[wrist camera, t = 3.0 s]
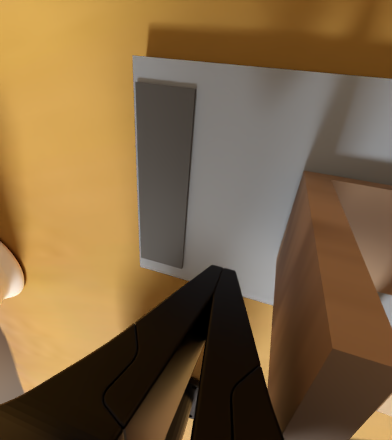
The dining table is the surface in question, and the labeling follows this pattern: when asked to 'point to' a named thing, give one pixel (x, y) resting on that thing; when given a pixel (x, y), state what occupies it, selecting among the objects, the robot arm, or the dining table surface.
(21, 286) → the jar
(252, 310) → the dining table surface
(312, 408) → the wooden block
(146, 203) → the bridge deck
